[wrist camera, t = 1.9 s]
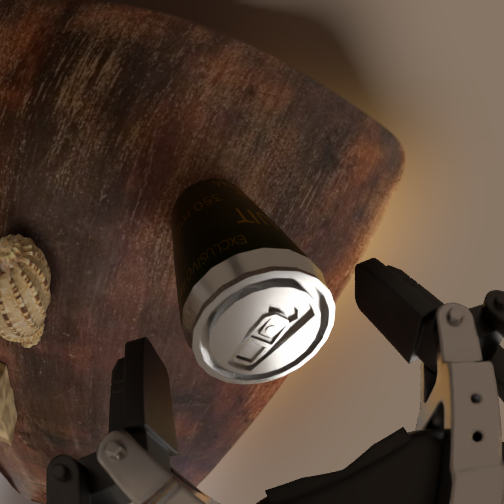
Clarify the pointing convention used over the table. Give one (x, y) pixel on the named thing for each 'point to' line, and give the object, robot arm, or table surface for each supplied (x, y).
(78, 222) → the table surface
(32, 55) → the table surface
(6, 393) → the socket block
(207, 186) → the guarana soda can
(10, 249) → the seashell
